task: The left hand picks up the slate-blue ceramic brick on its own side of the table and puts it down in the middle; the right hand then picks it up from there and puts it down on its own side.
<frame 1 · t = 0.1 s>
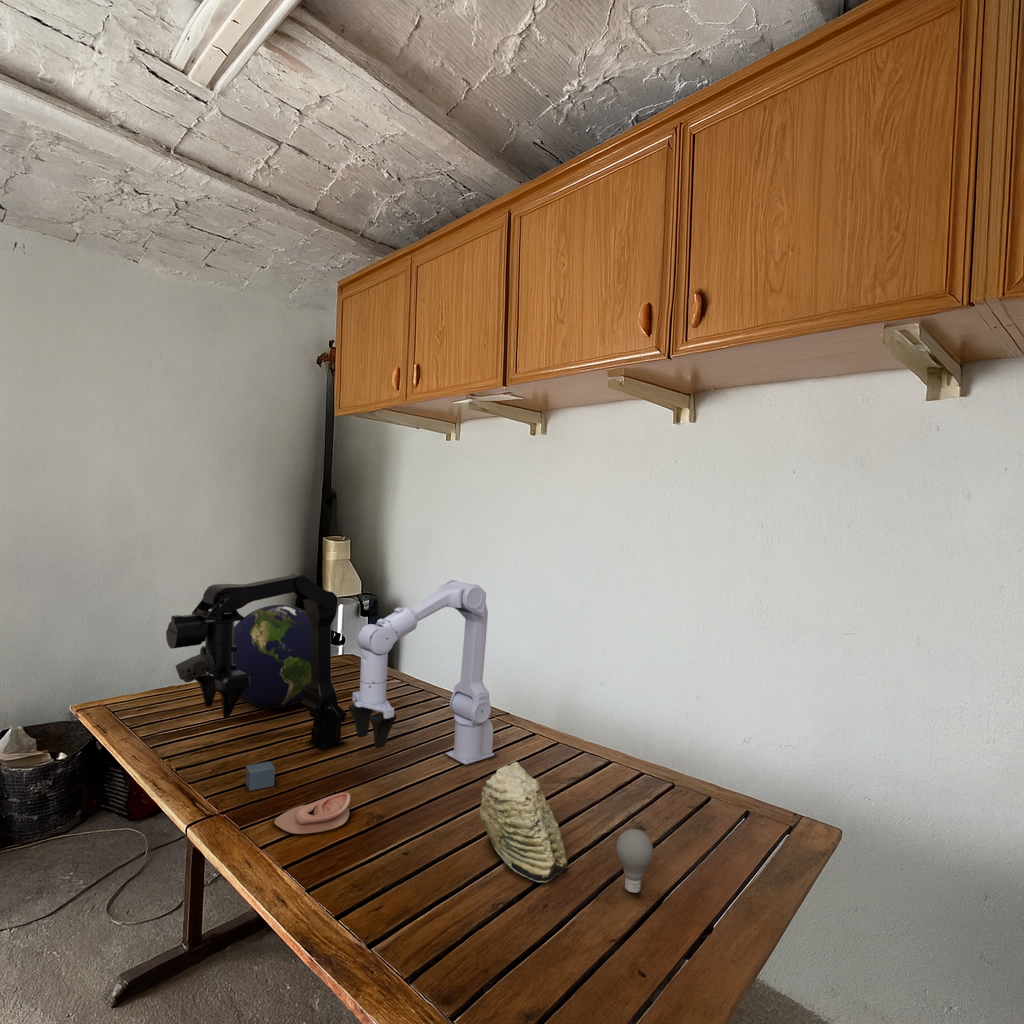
left hand: (217, 711, 141), 14 cm above the table, tool pointing down, fingers open, 9 cm apart
right hand: (371, 741, 139), 10 cm above the table, tool pointing down, fingers open, 7 cm apart
anatomical model: (312, 820, 124), on the table
globe: (275, 706, 188), on the table
light bulb: (632, 891, 106), on the table
fossil: (519, 856, 115), on the table
brick: (259, 784, 138), on the table
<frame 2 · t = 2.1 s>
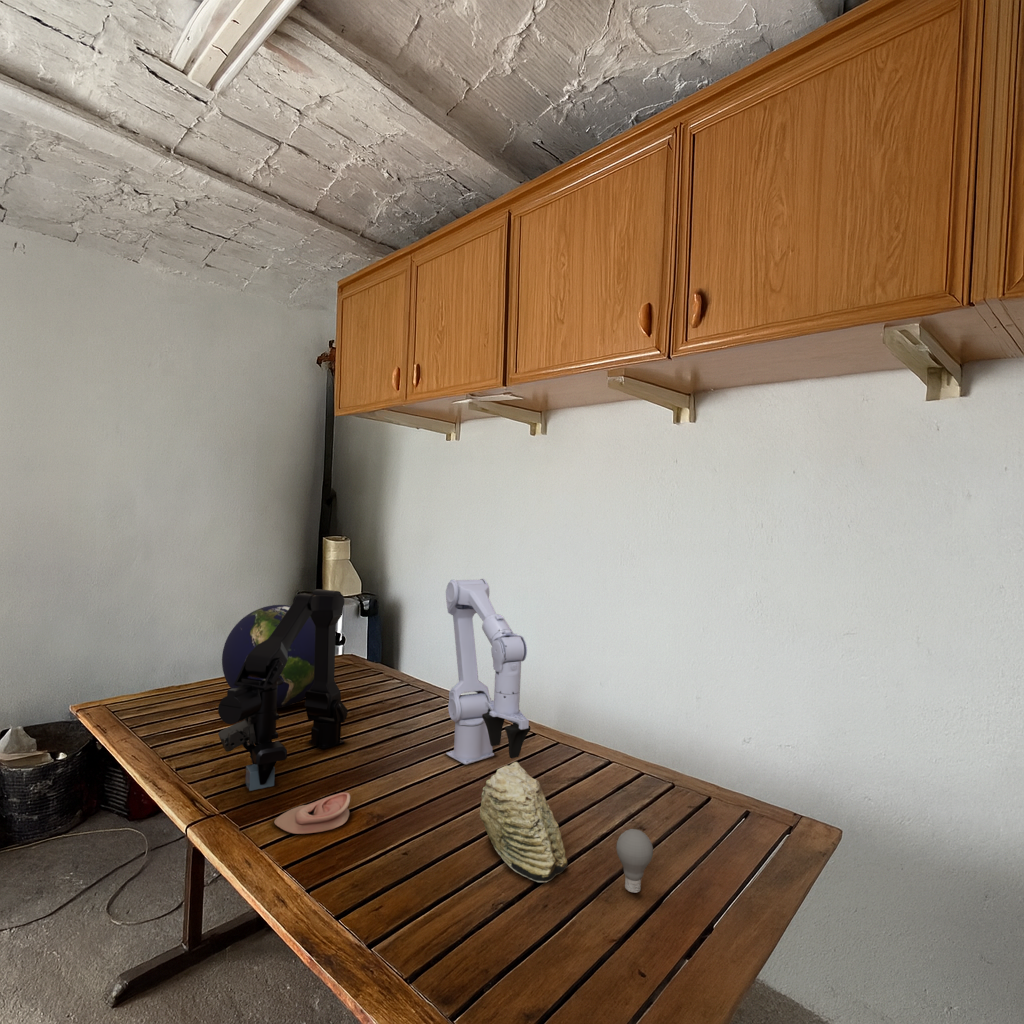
left hand: (260, 780, 138), 1 cm above the table, tool pointing down, fingers closed on brick, 4 cm apart
right hand: (504, 751, 141), 8 cm above the table, tool pointing down, fingers open, 7 cm apart
brick: (259, 784, 138), on the table, touching left hand
everything else where it was.
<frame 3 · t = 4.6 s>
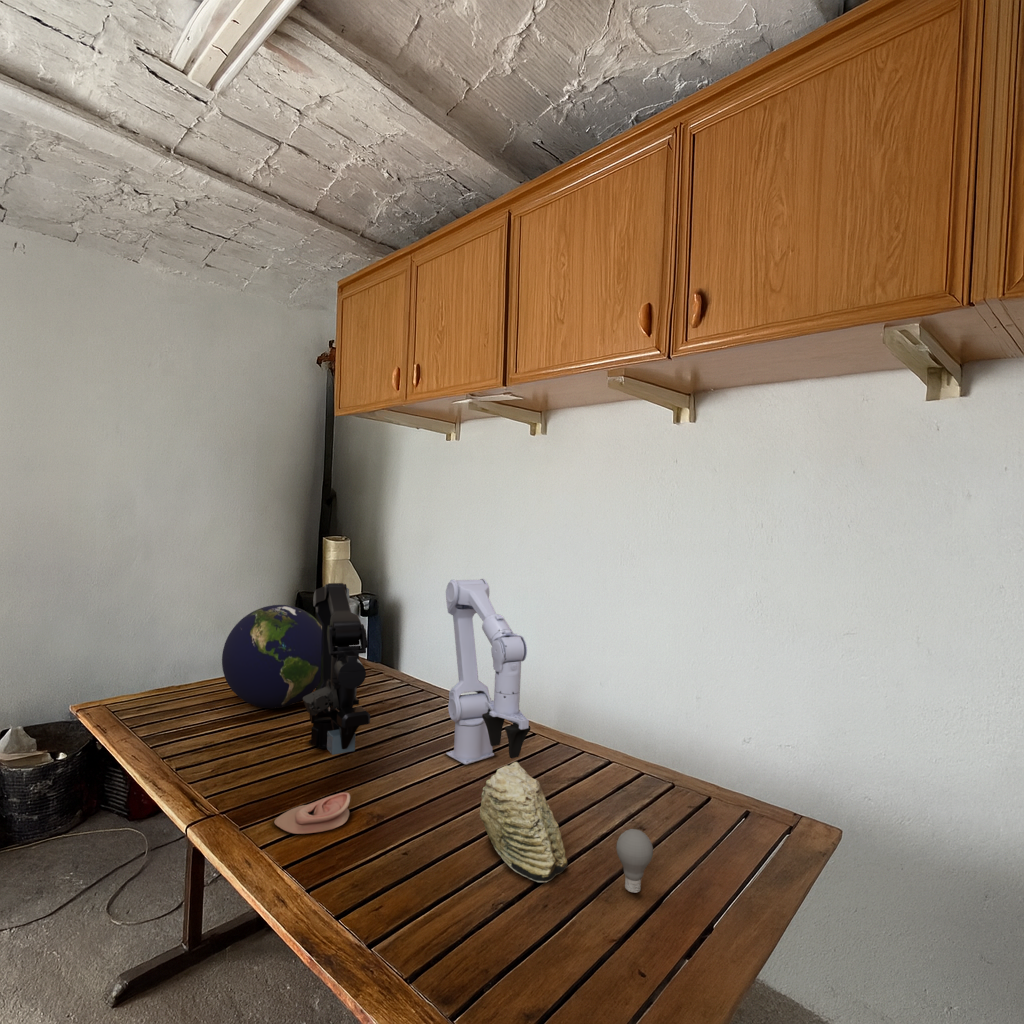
left hand: (341, 745, 141), 8 cm above the table, tool pointing down, fingers closed on brick, 4 cm apart
right hand: (504, 751, 141), 8 cm above the table, tool pointing down, fingers open, 7 cm apart
brick: (340, 749, 141), point 7 cm above the table, touching left hand
everything else where it was.
when the left hand's fingers open (2 cm above the table, at t = 7.1 s): brick stays where it is, on the table.
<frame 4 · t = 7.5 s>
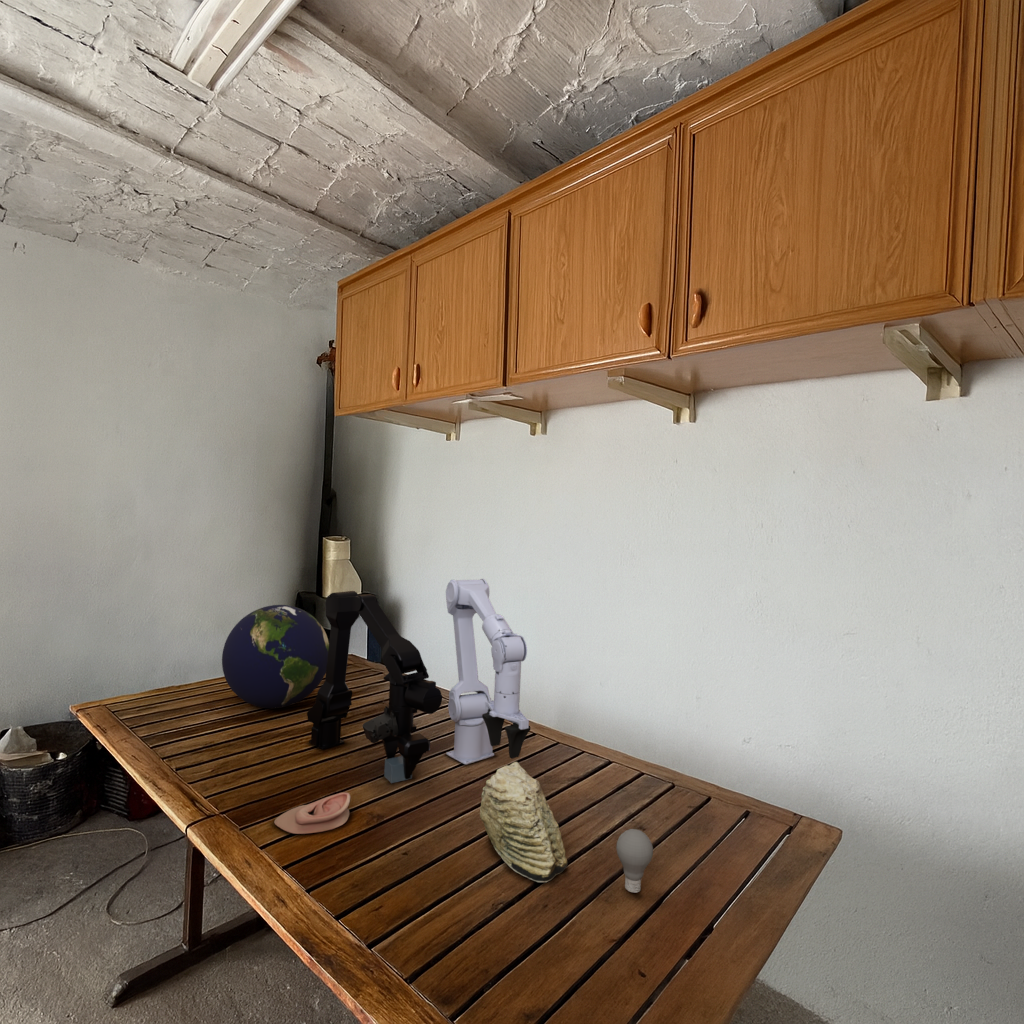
left hand: (398, 770, 144), 2 cm above the table, tool pointing down, fingers open, 9 cm apart
right hand: (504, 751, 141), 8 cm above the table, tool pointing down, fingers open, 7 cm apart
brick: (398, 777, 144), on the table
everything else where it was.
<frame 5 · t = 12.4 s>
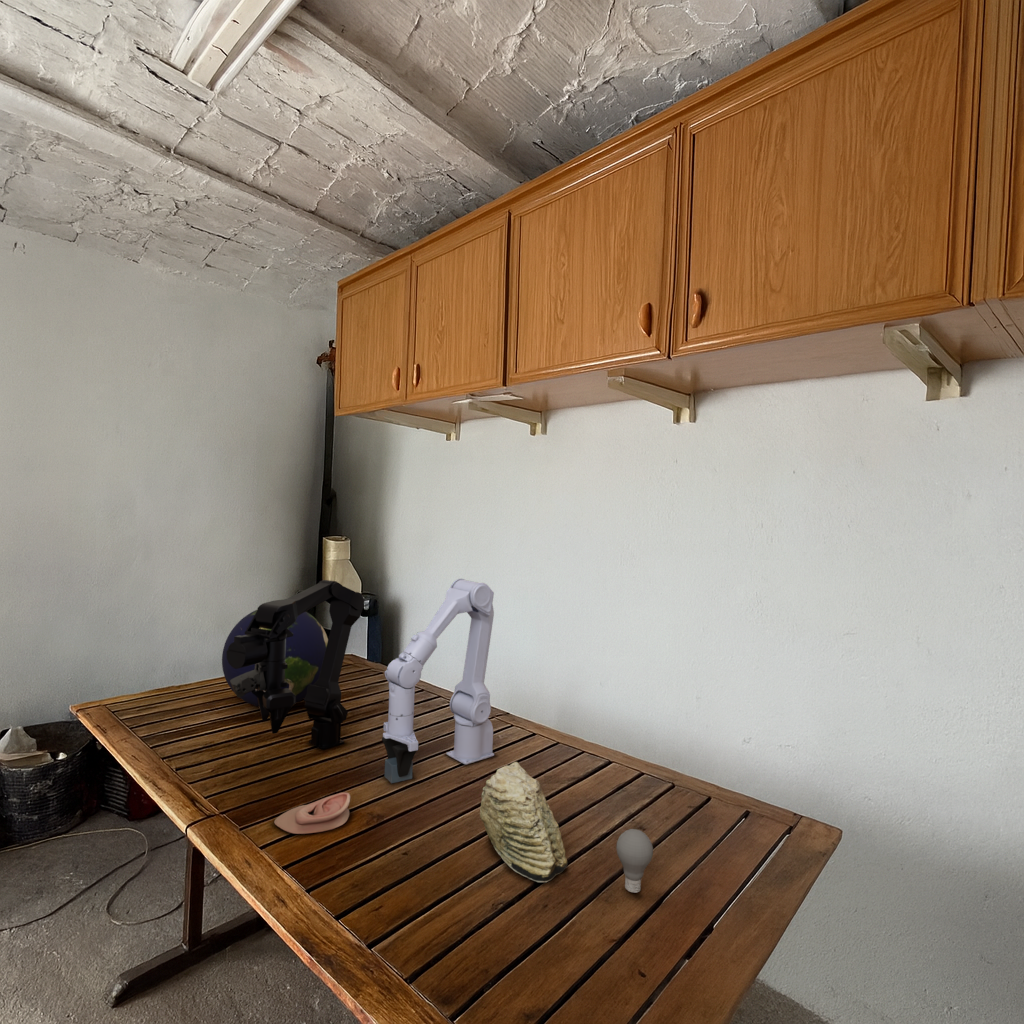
left hand: (269, 726, 145), 10 cm above the table, tool pointing down, fingers open, 9 cm apart
right hand: (398, 771, 144), 1 cm above the table, tool pointing down, fingers closed on brick, 4 cm apart
brick: (398, 777, 144), on the table, touching right hand
everything else where it was.
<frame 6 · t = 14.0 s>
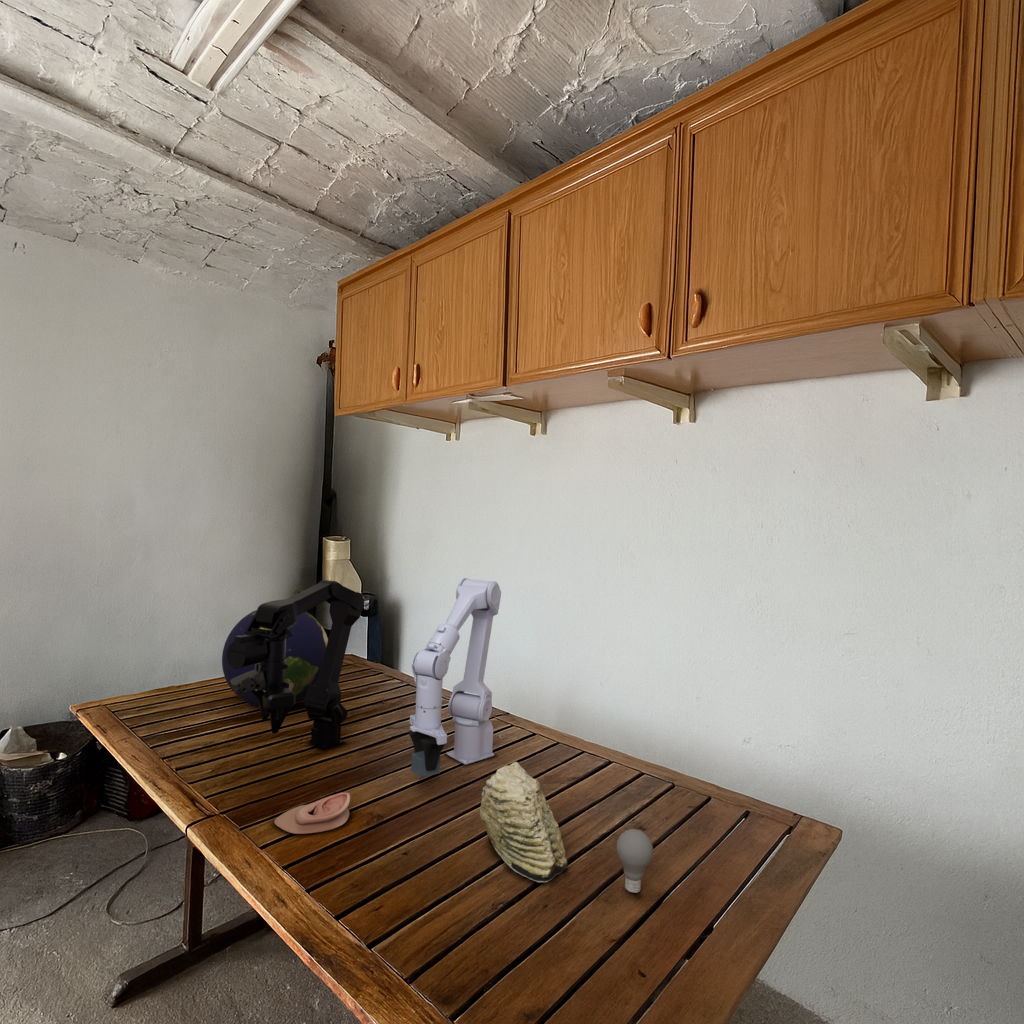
left hand: (269, 726, 145), 10 cm above the table, tool pointing down, fingers open, 9 cm apart
right hand: (426, 765, 140), 5 cm above the table, tool pointing down, fingers closed on brick, 4 cm apart
brick: (425, 772, 140), point 3 cm above the table, touching right hand
everything else where it was.
when the right hand's fingers open (2 cm above the table, at t = 15.7 s): brick stays where it is, on the table.
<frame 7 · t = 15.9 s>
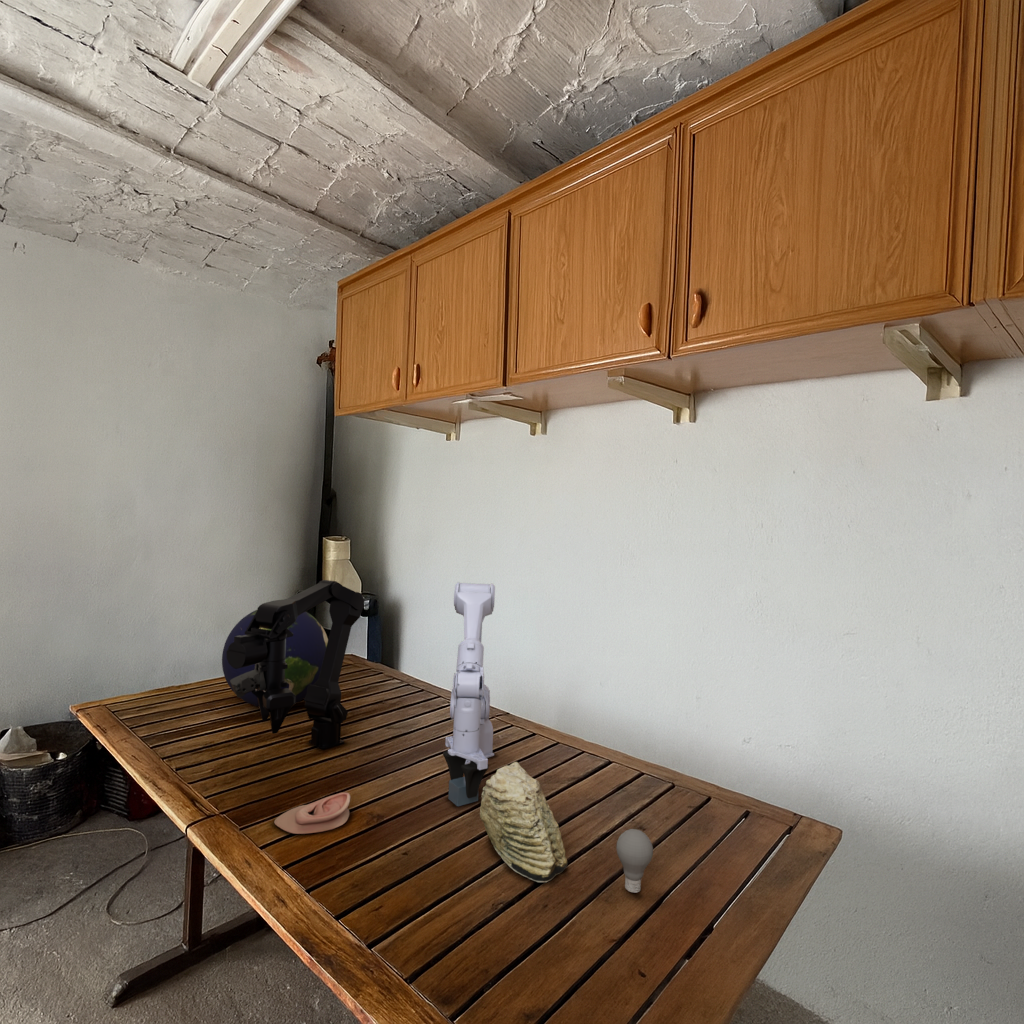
left hand: (269, 726, 145), 10 cm above the table, tool pointing down, fingers open, 9 cm apart
right hand: (464, 790, 135), 2 cm above the table, tool pointing down, fingers open, 6 cm apart
brick: (463, 799, 135), on the table
everything else where it was.
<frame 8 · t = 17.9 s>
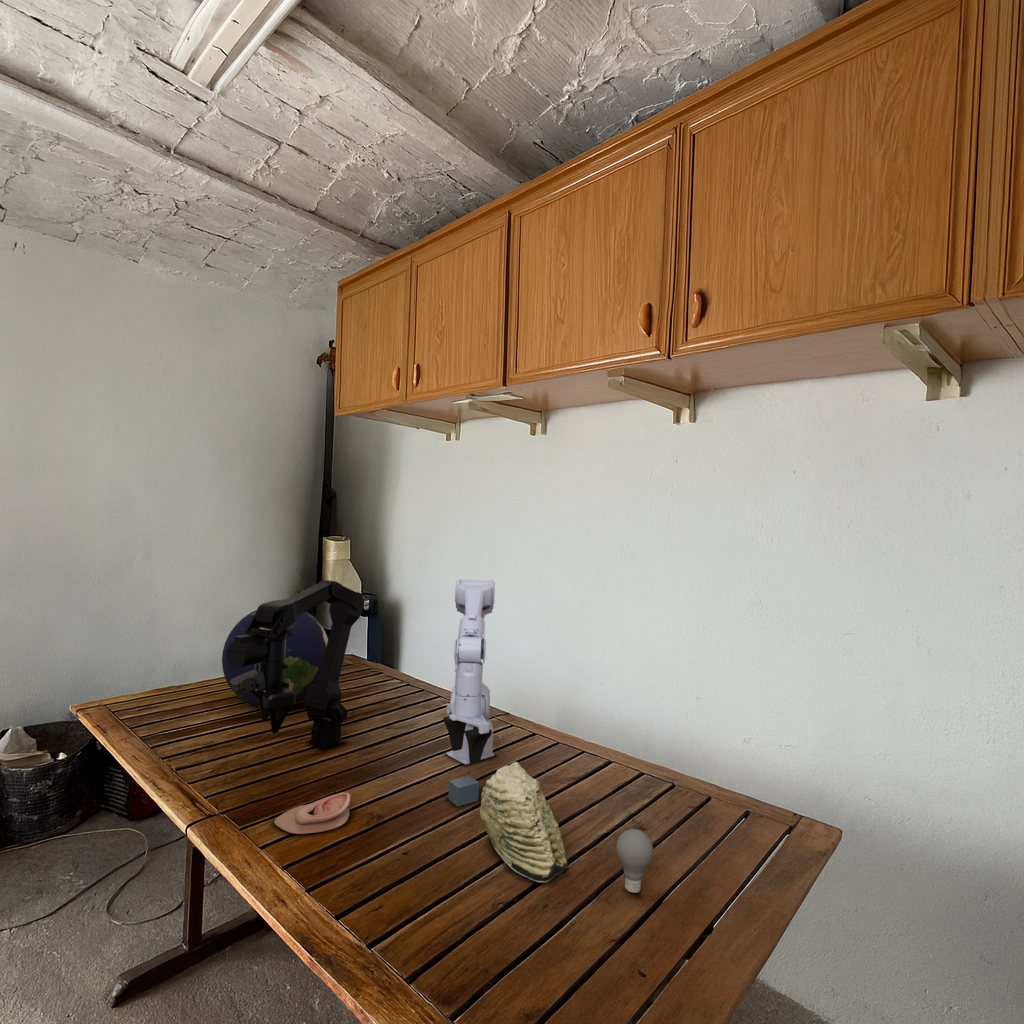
left hand: (269, 726, 145), 10 cm above the table, tool pointing down, fingers open, 9 cm apart
right hand: (465, 756, 135), 9 cm above the table, tool pointing down, fingers open, 7 cm apart
nothing on the table moved.
at the end: brick inside the target area (0.1 cm from its centre), on the table; brick tilted 0°; the two hands never held the brick at the same time; the left hand is holding nothing; the right hand is holding nothing; brick at rest at the end (0.0 cm/s) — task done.
